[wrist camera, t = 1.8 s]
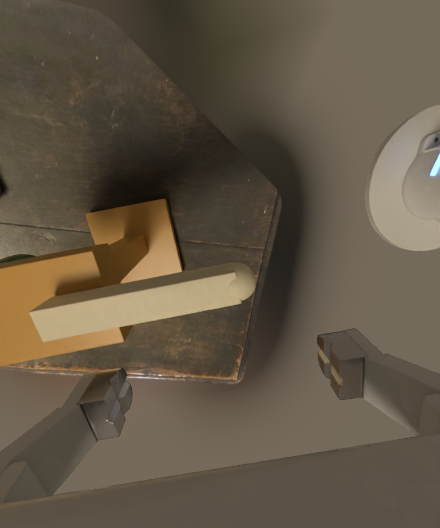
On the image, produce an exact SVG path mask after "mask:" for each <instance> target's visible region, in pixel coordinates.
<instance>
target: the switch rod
mask: <svg viewBox="0 0 440 528" xmlns="http://www.w3.org/2000/svg"><path fill="white" fill-rule="evenodd" d="M255 285H256V279H255V275H254V273H253V271H252V270H251V269H250V268H249V267H248V266H246V265H244V264H242V263H232V262H230V263H225V264H220V265H215V266H210V267H205V268H199V269H194V270H189V271H184V272H179V273H173V274H168V275H163V276H158V277H153V278H148V279H142V280H137V281H132V282H127V283H122V284H117V285H111V286H106V287H101V288H96V289H91V290H86V291H80V292H75V293H70V294H65V295H60V296H54V297H51V298H49V299H48V300H46V301H45V302H43V303H42V304H40V305H39V306H37V307H36V308H34V309H33V310H31V311H30V312H29V314H30V316H31V318H32V320H33V322H34V324H35V326H36V328H37V331H38V333H39V335H40V337H41V339H42V341H43V342H46V341H51V340H56V339H62V338H67V337H72V336H77V335H82V334H87V333H92V332H97V331H103V330H108V329H113V328H118V327H123V326H128V325H133V324H139V323H144V322H149V321H154V320H159V319H164V318H169V317H174V316H180V315H185V314H190V313H195V312H200V311H205V310H210V309H216V308H221V307H226V306H231V305H236V304H241V301H242V300H245V299H247V298H248V297H249V296H250V295H251V294H252V293H253V291H254V289H255Z"/></svg>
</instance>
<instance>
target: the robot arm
mask: <svg viewBox="0 0 440 528" xmlns="http://www.w3.org/2000/svg"><path fill="white" fill-rule="evenodd" d="M434 139H435V142H434ZM403 199H404V203H405V205H406V207H407V209H408V210H409V211H410V212H411V213H412V214H413V215H414V216H416V217H418V218H420V219H425V220H435V221H437V222H439V223H440V131H438V132H435V133H432V134H429V135H427V136H425V137H424V138H423V139H422V140H421V142H420V145H419V148H418V152H417V155H416V157H415V159H414V161H413V162H412V164H411V165H410V167H409V169H408V171H407V173H406V176H405V179H404V183H403ZM317 344H318V345H319V347H320V350H319V351H318V361H319V365H320V368H321V370H322V372H323V374H324V375H325V377H327V378H329V379H330V380H331V387H332V388H333V390H334V392H335V393H336V395H337V396H338V398H339V399H340V400H346V399H353V398H361V397H363V399H365V400H366V401H368V402H369V403H371V404H372V405H373V406H375V407H376V408H378V409H379V410H381V411H382V412H383V413H385V414H386V415H388V416H389V417H391V418H392V419H394V420H395V421H397V422H398V423H399V424H401V425H402V426H404V427H405V428H407V429H408V430H409V431H411V432H412V433H414V434H415V435H417V436H416V437H410V438H404V439H398V440H391V441H386V442H379V443H374V444H366V445H361V446H354V447H348V448H342V449H335V450H330V451H324V452H317V453H311V454H305V455H299V456H292V457H286V458H280V459H274V460H268V461H262V462H256V463H250V464H243V465H238V466H231V467H224V468H219V469H212V470H206V471H200V472H193V473H187V474H181V475H175V476H169V477H162V478H156V479H150V480H144V481H138V482H131V483H125V484H119V485H113V486H107V487H101V488H94V489H88V490H82V491H76V492H70V493H63V494H57V495H53V494H54V493H55V491H56V490H57V489H58V488H59V487H60V486H61V484H62V483H63V482H64V481H65V480H66V479H67V477H68V476H69V475H70V474H71V473H72V471H73V470H74V469H75V467H77V465H78V464H79V463H80V462H81V461H82V460H83V458H84V457H85V456H86V455H87V454H88V452H89V451H90V450H91V449H92V448H93V446H94V445H95V444H96V443H97V441H98V440H103V439H109V438H114V437H119V436H120V434H121V431H122V428H123V425H124V423H125V420H126V419H125V416H124V414H125V413H126V412H127V411H128V410H129V409H130V406H131V402H132V387H131V385H130V383H128V382H127V381H126V380H125V379H126V376H127V374H126V371H125V369H123V368H116V369H109V370H102V371H97V372H90V373H86V374H84V375H83V376H82V378H81V380H80V381H79V383H78V384H77V386H76V387H75V388H74V390H73V391H72V393H71V394H70V396H69V397H68V399H67V400H66V402H65V403H64V405H63V406H62V407H61V408H57V409H56V410H54V411H53V412H52V413H51V414H49V415H48V416H47V417H45V418H44V419H43V420H42V421H40V422H39V423H37V424H36V425H35V426H34V427H32V428H31V429H30V430H28V431H27V432H26V433H24V434H23V435H22V436H21V437H19V438H18V439H17V440H15V441H14V442H13V443H11V444H10V445H9V446H7V447H6V448H5V449H3V450H2V451H1V452H0V528H440V374H438V373H435V372H433V371H430V370H428V369H425V368H423V367H420V366H418V365H415V364H412V363H410V362H407V361H405V360H402V359H400V358H397V357H395V356H392V355H389V354H382V353H381V352H380V351H379V350H378V349H377V348H376V347H375V346H374V345H373V344H372V343H371V342H370V341H369V340H368V339H367V338H366V337H365V336H364V335H362V334H361V333H360V332H359V331H358V330H357V329H355V328H353V329H348V330H343V331H339V332H333V333H327V334H322V335H318V337H317Z"/></svg>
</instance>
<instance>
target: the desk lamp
mask: <svg viewBox="0 0 440 528" xmlns="http://www.w3.org/2000/svg"><path fill="white" fill-rule="evenodd" d="M85 216H86V219H87V222H88V225H89V228H90V231H91V233H92V236H93V239H94V242H95V245H94V246H89V247H84V248H79V249H73V250H68V251H63V252H58V253H53V254H47V255H42V256H33V255H26V254H19V255H13V256H9V257H6V258H3V259H0V366H3V365H8V364H13V363H18V362H23V361H28V360H33V359H38V358H44V357H49V356H54V355H59V354H64V353H69V352H74V351H79V350H84V349H90V348H95V347H100V346H105V345H110V344H115V343H120V342H124V341H125V340H126V338H127V336H128V334H129V332H130V330H131V329H132V327H133V325H134V324H133V325H128V326H123V327H118V328H113V329H108V330H103V331H97V332H92V333H87V334H82V335H77V336H72V337H67V338H62V339H56V340H51V341H46V342H43V341H42V339H41V337H40V335H39V333H38V331H37V328H36V326H35V324H34V322H33V320H32V318H31V316H30V314H29V312H30V311H31V310H33V309H34V308H36V307H37V306H39V305H40V304H42V303H43V302H45V301H46V300H48V299H49V298H51V297H54V296H60V295H65V294H70V293H75V292H80V291H86V290H91V289H96V288H101V287H106V286H111V285H117V284H122V283H127V282H132V281H137V280H142V279H148V278H153V277H158V276H163V275H168V274H173V273H179V272H183V271H184V270H183V266H182V262H181V257H180V253H179V249H178V245H177V241H176V237H175V233H174V228H173V224H172V220H171V216H170V212H169V208H168V204H167V199H160V200H155V201H149V202H144V203H139V204H134V205H128V206H123V207H118V208H113V209H107V210H102V211H97V212H92V213H86V214H85Z"/></svg>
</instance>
